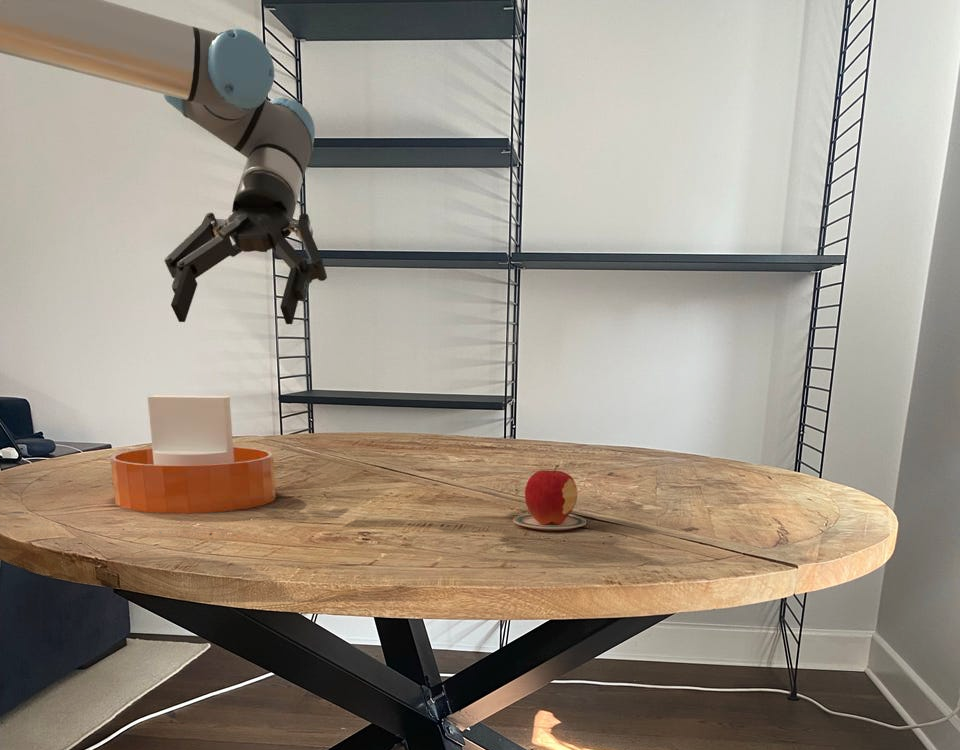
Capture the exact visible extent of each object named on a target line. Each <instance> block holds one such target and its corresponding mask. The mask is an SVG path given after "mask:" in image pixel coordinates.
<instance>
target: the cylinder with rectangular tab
mask: <svg viewBox="0 0 960 750" xmlns="http://www.w3.org/2000/svg"><path fill="white" fill-rule="evenodd" d="M230 397H231V396H230V395H180V394H179V395H178V394H177V395H176V394H175V395H173V394H172V395H169V394H167V395H166V394H154V395H153V394H152V395H147V409H148V417H149V419H148V420H149V427H150V428H149V429H150V440H151V448H152V450H153V461H154V465H210V464H226V463H234V453H233V447H234V439H233V427H232V426H233V424H232V409H231V398H230Z"/></svg>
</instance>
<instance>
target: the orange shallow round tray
mask: <svg viewBox="0 0 960 750" xmlns="http://www.w3.org/2000/svg"><path fill="white" fill-rule="evenodd" d="M233 453H234V463H226V464H210V465H154V461H153V450H152V447H150V448H149V447H147V448H141V449H140V448H139V449H133V450H132V449H131V450H127V451H122V452H117V453H115V454H113V455H110V466H111V476H112V485H113V494H114V501H115V505H117V506H118V507H120V508H123V509H126V510H130V511H137V512H145V513H156V514H157V513H160V514H201V513H219V512H229V511H237V510H244V509H250V508H251V509H252V508H255V507H260V506H264V505H267V504H269V503H271V502H274V500H275V499H276V498H277V496H276V479H275V463H274V461H275V460H274V454H273V453H272V451H269V450H265V449H260V448H255V447H245V446H244V447H243V446H233Z"/></svg>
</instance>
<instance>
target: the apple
mask: <svg viewBox="0 0 960 750" xmlns="http://www.w3.org/2000/svg"><path fill="white" fill-rule="evenodd" d="M559 467H561V465H559V464H556V465H555V468H554V470H544V469H543V470H538V471H536V472H535V473H533V474H532V475H531V476H530V477H529V478H528V480H527V482H526V485H525V489H524V499H525V505H526V508H527V509H528V511H529V513H528V514H521V515H518V516H514V518H513V523H514V524H517V525H519V526H523V527H526V528H528V529H533V530H539V531H552V532H553V531H555V532H556V531H566V530H567V531H568V530H572V529H575V528H579V527H583V526H585V525H586V524H587V520H586V519H585V518H582V517H580V516H576V515H570V514H571V513H572V512H573V510H574V508H575V506H576V504H577V501H578V488H577V484H576V482H575V480H574V478H573V477H572V476H571V474H569V473H567V472H564V471H561V470H557V468H559Z"/></svg>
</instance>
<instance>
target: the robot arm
mask: <svg viewBox="0 0 960 750" xmlns="http://www.w3.org/2000/svg"><path fill="white" fill-rule="evenodd" d="M0 54H3V55H7V56H11V57H15V58H19V59H24V60H26V61H29V62H35V63H39V64H43V65H47V66H50V67H55V68H58V69H62V70H66V71H69V72H70V71H71V72H74V73H78V74H82V75H87V76H90V77H94V78H98V79H102V80H106V81H110V82H115V83H118V84H122V85H126V86H130V87H133V88H138V89H141V90H146V91H150V92H154V93H157V94H162V95H163V98H164V99H165V101H166V102H167V103H168V104H169V105H171V106H172V107H173V108H175V109H176V110H177V111H178V112H179V113H180V114H182V116H183V117H184V118H186V119H189V120H190V121H192V122H194V123H195V124H197V125H198V126H200V127H201V128H203V129H204V130H206V131H207V132H208V133H210V134H212V135H213V136H215V137H216V138H218V140H220V141H221V142H223V143H225V144H227V145H228V146H229V147H230V148H232V149H234V150H235V151H236V152H238V153H239V154H241V155H242V156H244V157H246V158H247V159H246V162H245V165H244V168H243V171H242V173H241V176H240V180H239V183H238V186H237V189H236V192H235V196H234V198H233V202H232V209H231V210H232V211H231V213H230V215H229V216H227V217H226V218H225V219H223V218H217V217H216V216H215V213H213V212H207V213H205V215H204V217H203V219H202V220H201V222H200V224H199V226H197V227H196V228H195V229H194V230H193V231H192V232H191V233H190V234H189V235H187V237H186V238H185V239H184V240H182V242H181V243H180V244H179V245H177V246H176V247H175V248H174V249H173V250H172V251H171V252H170V253H169V254H168V255H167V256H166V257H165V258H164V259H163V260H164V263H165V266H166V268H167V270H168V272H169V275H170V276H171V278H172V279H173V282H172V283H171V289H172V291H173V294H174V295H173V297H172V300H171V304H170V306H171V308H172V311H173V312H174V314H175V317H176V319H177V320H178V322H179V323H186V320H187V317H188V314H189V311H190V308H191V305H192V302H193V299H194V296H195V293H196V290H197V287H198V282H197V278H199V277H201V276H202V275H203V274H205V273H206V272H207V271H209V270H211V269H212V268H213V267H215V266H217V265H218V264H219V263H222V262H223V261H224V260H225V259H227V258H229V257H231V258H234V257H236V256H237V255H239V254H240V253H242V252H244V253H250V252H260V253H267V252H268V251H269V250H272V251H273V252H274V253H275V254H276V256H277V257H278V258H281V260H283V262H284V264H286V265H287V267H289V269H290V270H289V273H288V277H287V281H286V283H285V288H284V292H283V295H282V299H281V302H280V306H279V308H280V311H281V313H282V316H283V319H284V323H285V324H286V325H293V323H294V318H295V315H296V312H297V307H298V305H299V301H305V300H306V298H307V295H308V291H309V287H310V284H311V283H312V282H313V281H314V280H318V281H320V282H324V281H326V280H327V279H328V275H327V271H326V268H325V263H324V260H323V258H322V256H321V254H320V251H319V249H318V246H317V244H316V241H315V239H314V237H313V236H314V231H313V227H312V223H311V220H310V217H309V214H308V213H306V212H305V213H301V214H300V215H299V217H298V219H294V215H295V212H296V206H297V205H298V204H297V203H298V200H299V197H300V193H301V189H302V185H303V181H304V178H305V174H306V171H307V168H308V165H309V161H310V158H311V157H312V155H313V150H314V143H315V134H316V130H315V129H316V127H315V123H314V119H313V117H312V116H311V114H310V112H309V110H308V109H307V108H306V107H305V106H303V104H301V103H300V102H298V101H296V100H295V99H290V98H289V99H288V98H285V97H277V98H273V99H271V100H268V99H267V97H268V95H269V93H270V92H271V90H272V87H273V86H274V85H273V84H274V81H275V76H276V75H275V66H274V61H273V58H272V55H271V53H270V51H269V49H268V47H267V45H266V44H265V43H264V42H263V41H262V39H260V38H259V37H258V36H257V35H255V34H254V33H252V32H250V31H248V30H246V29H242V28H233V29H228V30H225V31H221V32H219V33H218V32H214V31H211V30H207V29H204V28H200V27H196V26H192V25H189V24H185V23H182V22H179V21H175V20H172V19H168V18H165V17H161V16H158V15H155V14H152V13H148V12H145V11H141V10H138V9H135V8H131V7H128V6H124V5H121V4H118V3H115V2H111V1H107V0H0ZM292 233H294V234H295V236H296V237H298V239H299V240H300V241H302V244H303V248H304V250H305V252H306V254H307V257H308V259H309V262H310V263H308V262H307V259H306V257H305V258H303V257H302V256H301V254H299V253H298V251H297V250H296V249H295V248H294V246H293V245H292V244H291V243H290V242H289V241H288V240H287V238H288V237H289V236H290V235H291V234H292ZM231 239H232V240H231ZM232 241H233V242H234V244H233V242H232Z"/></svg>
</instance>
